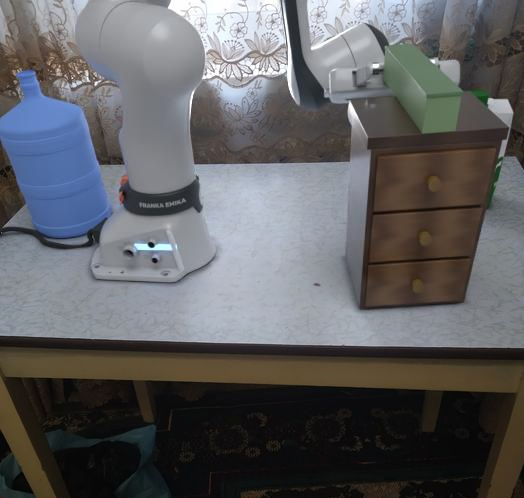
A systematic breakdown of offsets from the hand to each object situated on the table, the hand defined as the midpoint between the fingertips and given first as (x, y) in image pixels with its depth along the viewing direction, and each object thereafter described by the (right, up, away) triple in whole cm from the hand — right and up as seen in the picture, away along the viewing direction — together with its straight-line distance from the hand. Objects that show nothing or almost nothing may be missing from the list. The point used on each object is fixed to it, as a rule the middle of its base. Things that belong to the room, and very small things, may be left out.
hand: (403, 65), depth 76 cm
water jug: (-59, -15, +33) cm, 69 cm away
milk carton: (+21, -12, +29) cm, 37 cm away
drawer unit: (+2, -30, +10) cm, 31 cm away
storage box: (0, -7, -4) cm, 8 cm away
